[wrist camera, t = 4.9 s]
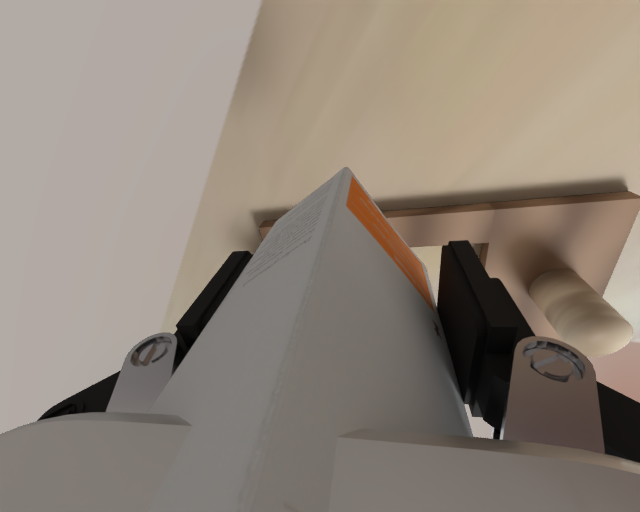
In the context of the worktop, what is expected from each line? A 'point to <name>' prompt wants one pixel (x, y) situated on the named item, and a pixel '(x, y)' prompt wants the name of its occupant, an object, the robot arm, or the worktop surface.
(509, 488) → the robot arm
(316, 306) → the skincare box
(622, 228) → the walnut rail
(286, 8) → the worktop surface
